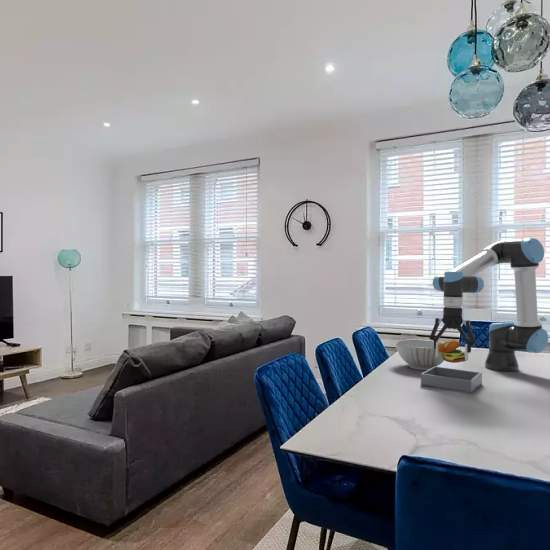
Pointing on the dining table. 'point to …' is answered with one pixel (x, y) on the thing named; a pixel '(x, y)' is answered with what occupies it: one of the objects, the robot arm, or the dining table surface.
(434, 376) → the bin
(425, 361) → the decorative bowl
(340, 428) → the dining table surface
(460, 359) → the cheeseburger
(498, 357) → the robot arm
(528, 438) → the dining table surface
